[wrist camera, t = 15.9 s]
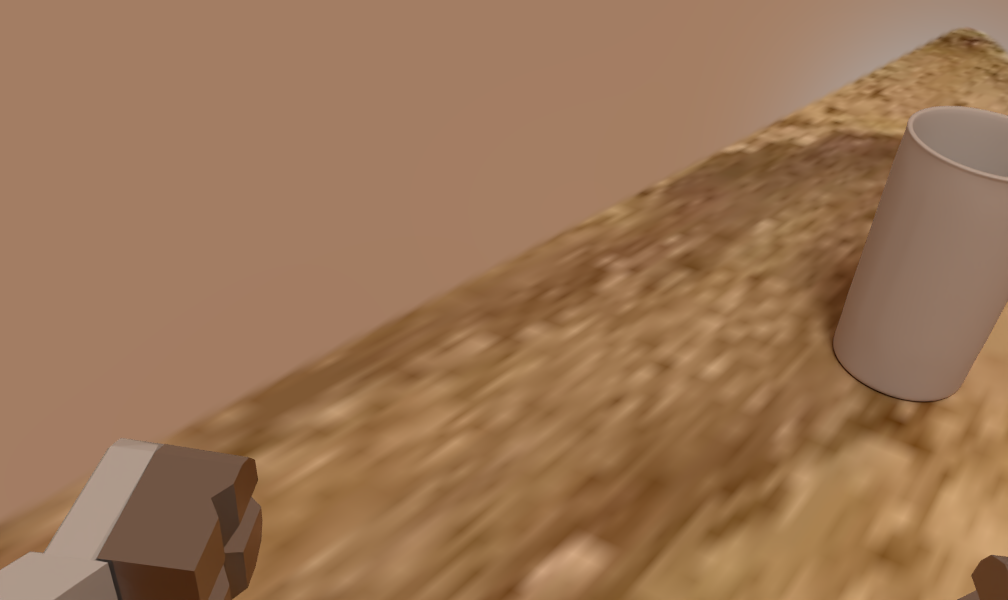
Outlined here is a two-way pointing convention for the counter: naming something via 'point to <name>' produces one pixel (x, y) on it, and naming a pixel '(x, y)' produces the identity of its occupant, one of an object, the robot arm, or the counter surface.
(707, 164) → the counter surface
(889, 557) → the counter surface
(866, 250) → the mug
